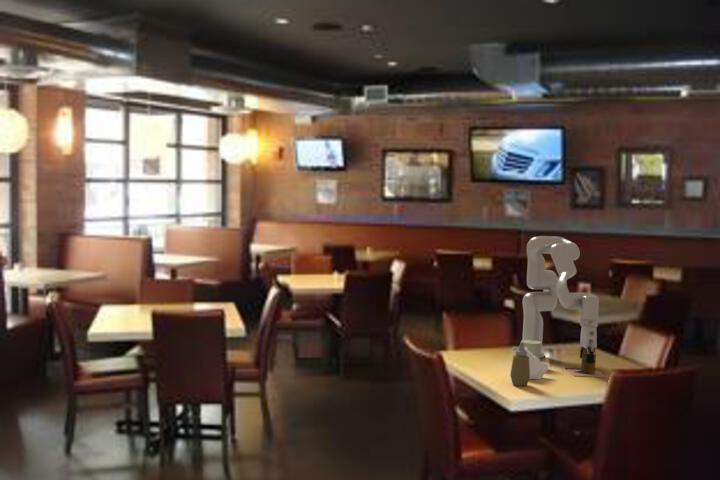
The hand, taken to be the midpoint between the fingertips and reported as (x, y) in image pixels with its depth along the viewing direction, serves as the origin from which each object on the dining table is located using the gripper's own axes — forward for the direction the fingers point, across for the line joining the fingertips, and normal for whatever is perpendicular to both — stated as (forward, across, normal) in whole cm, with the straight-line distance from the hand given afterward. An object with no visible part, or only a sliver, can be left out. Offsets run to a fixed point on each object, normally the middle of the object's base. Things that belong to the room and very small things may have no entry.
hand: (586, 360), depth 351 cm
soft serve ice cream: (+6, -11, +29) cm, 32 cm away
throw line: (+6, +8, 0) cm, 10 cm away
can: (+6, +11, +23) cm, 26 cm away
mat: (+6, 0, 0) cm, 6 cm away
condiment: (+6, 0, 0) cm, 6 cm away
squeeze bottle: (+6, -26, +35) cm, 44 cm away
